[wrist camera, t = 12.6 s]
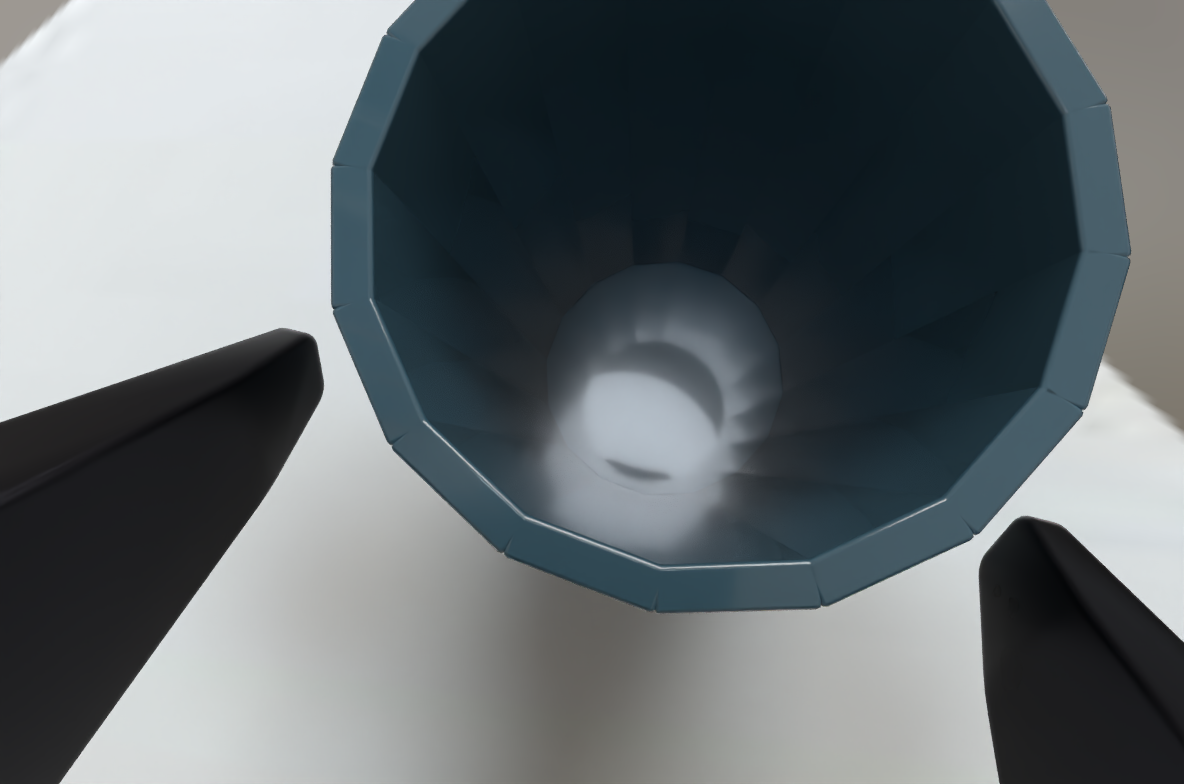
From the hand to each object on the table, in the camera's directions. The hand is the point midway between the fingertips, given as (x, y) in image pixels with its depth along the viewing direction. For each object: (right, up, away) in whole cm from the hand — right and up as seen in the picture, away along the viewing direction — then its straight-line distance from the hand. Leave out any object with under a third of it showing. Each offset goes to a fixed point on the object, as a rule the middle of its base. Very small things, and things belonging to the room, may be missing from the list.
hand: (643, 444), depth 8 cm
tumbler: (+1, +1, +9) cm, 9 cm away
